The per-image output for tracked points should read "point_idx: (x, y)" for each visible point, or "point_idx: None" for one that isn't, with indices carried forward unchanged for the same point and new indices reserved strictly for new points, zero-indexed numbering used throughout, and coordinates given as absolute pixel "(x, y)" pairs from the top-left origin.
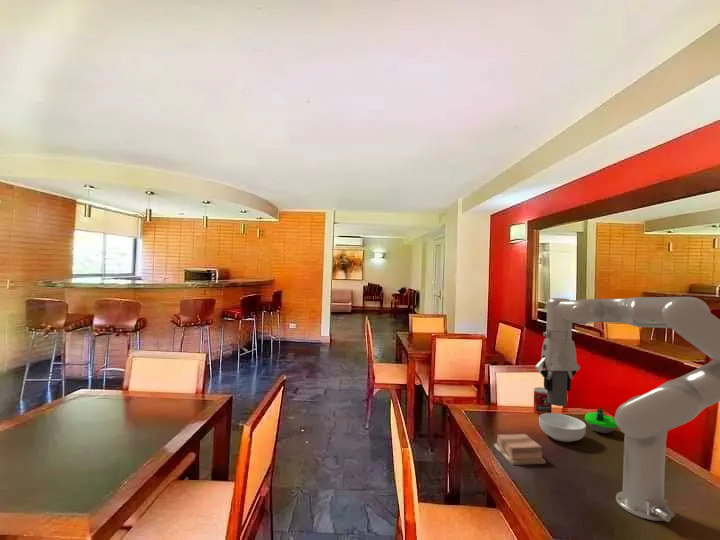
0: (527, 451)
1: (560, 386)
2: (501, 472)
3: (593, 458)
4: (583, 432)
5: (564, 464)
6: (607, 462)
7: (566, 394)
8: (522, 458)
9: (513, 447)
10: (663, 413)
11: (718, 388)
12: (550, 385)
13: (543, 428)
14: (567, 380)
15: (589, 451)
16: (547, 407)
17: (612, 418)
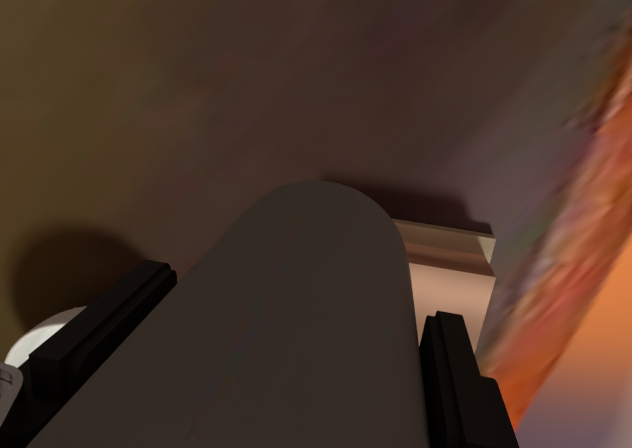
0: (415, 256)
1: (330, 277)
2: (593, 194)
3: (119, 198)
4: (55, 316)
5: (271, 186)
6: (86, 158)
7: (237, 226)
8: (436, 248)
9: (485, 281)
10: None
11: None
12: (473, 361)
13: None
14: (93, 370)
15: (96, 247)
16: None
17: None
